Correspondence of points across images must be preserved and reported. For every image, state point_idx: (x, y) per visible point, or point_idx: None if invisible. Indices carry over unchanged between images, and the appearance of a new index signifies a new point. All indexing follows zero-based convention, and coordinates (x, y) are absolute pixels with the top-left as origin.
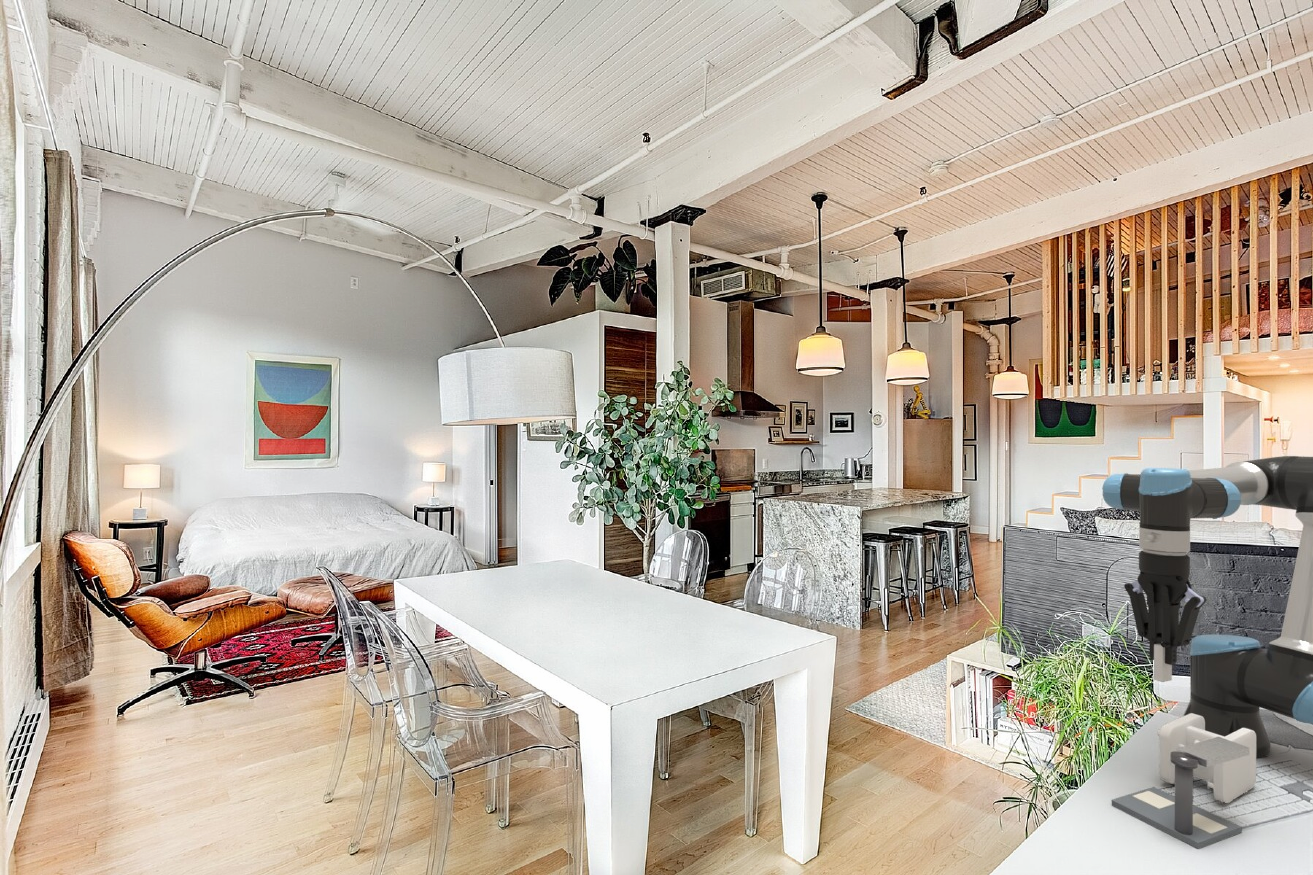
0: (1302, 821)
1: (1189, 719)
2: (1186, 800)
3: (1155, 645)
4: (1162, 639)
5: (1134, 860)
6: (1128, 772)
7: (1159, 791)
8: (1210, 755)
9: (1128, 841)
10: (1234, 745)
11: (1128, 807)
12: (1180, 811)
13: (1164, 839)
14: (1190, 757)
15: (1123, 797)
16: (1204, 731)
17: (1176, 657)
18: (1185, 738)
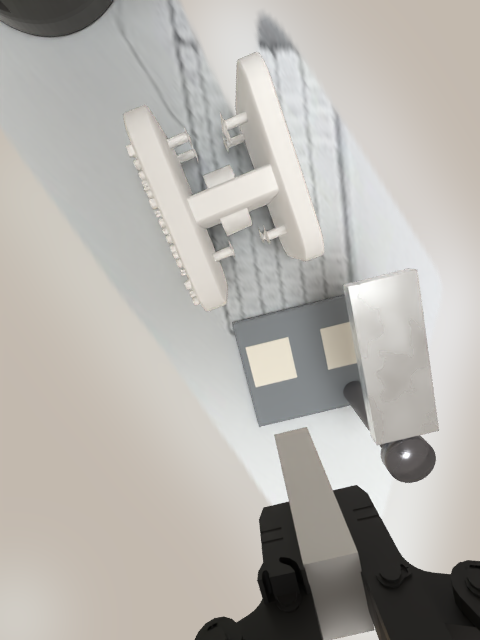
0: (359, 147)
1: (173, 188)
2: None
3: (329, 632)
4: (311, 596)
5: (379, 491)
6: (163, 309)
7: (248, 328)
8: (423, 402)
9: (343, 468)
10: (398, 296)
11: (283, 418)
12: None
13: (350, 418)
14: (418, 452)
15: (256, 403)
16: (224, 195)
17: (377, 512)
18: (202, 230)
